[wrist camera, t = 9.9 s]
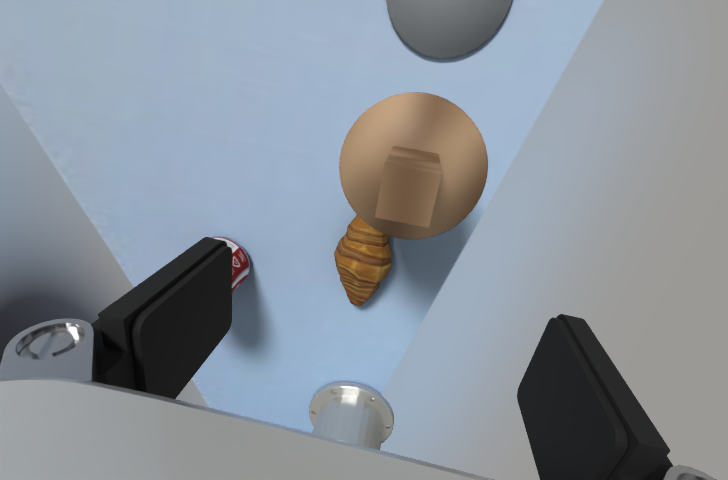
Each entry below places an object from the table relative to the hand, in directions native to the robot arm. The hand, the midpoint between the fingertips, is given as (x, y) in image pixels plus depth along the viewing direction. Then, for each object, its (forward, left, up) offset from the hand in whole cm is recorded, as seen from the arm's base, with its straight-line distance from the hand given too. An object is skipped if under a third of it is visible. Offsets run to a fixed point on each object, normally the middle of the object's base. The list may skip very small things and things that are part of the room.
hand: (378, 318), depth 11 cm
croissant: (-9, +10, -31) cm, 34 cm away
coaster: (+11, -8, -30) cm, 33 cm away
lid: (0, 0, -18) cm, 18 cm away
